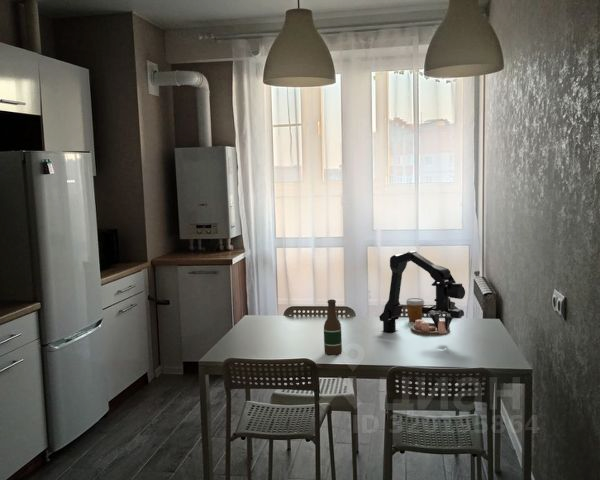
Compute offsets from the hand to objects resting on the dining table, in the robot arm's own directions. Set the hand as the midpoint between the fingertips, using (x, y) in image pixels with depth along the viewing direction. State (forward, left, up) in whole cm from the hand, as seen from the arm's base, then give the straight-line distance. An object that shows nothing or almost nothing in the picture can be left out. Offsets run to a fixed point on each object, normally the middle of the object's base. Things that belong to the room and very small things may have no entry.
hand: (442, 329), depth 275 cm
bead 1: (+18, +10, -6) cm, 21 cm away
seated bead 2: (+11, +15, -6) cm, 20 cm away
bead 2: (0, 0, -1) cm, 1 cm away
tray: (+16, +15, -7) cm, 23 cm away
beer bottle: (-40, +32, -7) cm, 52 cm away
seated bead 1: (+13, +20, -6) cm, 24 cm away
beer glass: (+29, +31, -7) cm, 43 cm away
